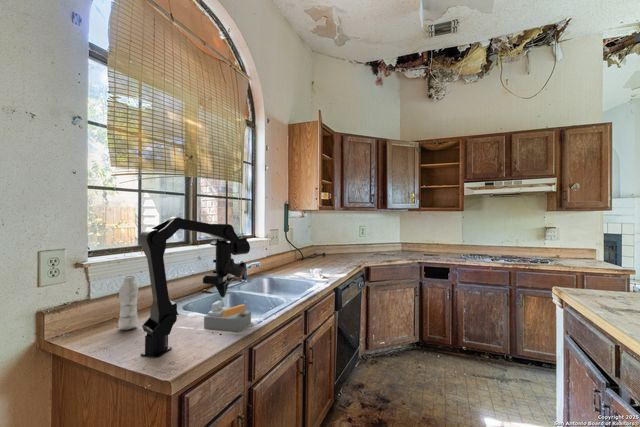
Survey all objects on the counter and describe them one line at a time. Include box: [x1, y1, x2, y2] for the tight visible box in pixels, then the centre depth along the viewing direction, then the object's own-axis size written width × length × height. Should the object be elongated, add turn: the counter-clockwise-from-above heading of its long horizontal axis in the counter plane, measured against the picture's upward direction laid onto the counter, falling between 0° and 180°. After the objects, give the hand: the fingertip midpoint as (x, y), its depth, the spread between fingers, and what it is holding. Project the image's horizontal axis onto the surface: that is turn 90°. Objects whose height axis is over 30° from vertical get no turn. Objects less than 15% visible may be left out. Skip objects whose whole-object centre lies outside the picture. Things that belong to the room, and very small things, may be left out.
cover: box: [207, 300, 229, 316], centre depth 119 cm, size 7×5×4 cm
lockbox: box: [203, 310, 252, 333], centre depth 118 cm, size 10×15×5 cm, turn 79°
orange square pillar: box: [223, 304, 246, 318], centre depth 114 cm, size 2×9×4 cm, turn 143°
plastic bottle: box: [117, 275, 140, 331], centre depth 112 cm, size 6×7×20 cm
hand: (223, 297), depth 112 cm, fingers closed
